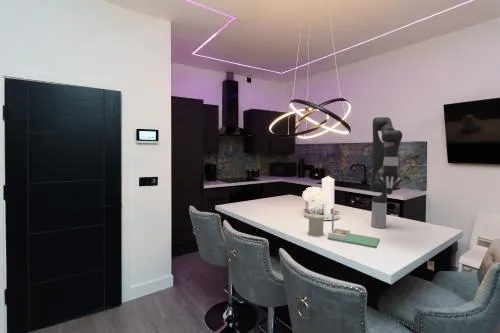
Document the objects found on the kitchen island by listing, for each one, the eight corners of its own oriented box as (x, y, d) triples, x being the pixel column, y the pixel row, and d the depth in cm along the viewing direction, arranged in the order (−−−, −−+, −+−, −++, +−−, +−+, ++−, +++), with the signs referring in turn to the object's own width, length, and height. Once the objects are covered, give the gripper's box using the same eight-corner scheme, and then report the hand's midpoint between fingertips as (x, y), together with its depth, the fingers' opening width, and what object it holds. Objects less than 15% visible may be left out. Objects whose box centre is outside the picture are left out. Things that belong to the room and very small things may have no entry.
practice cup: (334, 231, 169) (334, 205, 168) (349, 234, 164) (350, 207, 163) (328, 236, 158) (329, 209, 157) (344, 239, 153) (345, 211, 152)
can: (305, 232, 169) (305, 214, 169) (317, 231, 172) (318, 213, 172) (313, 237, 161) (314, 217, 160) (326, 235, 164) (327, 216, 163)
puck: (337, 233, 165) (337, 228, 165) (346, 235, 161) (346, 230, 161) (333, 235, 160) (333, 230, 160) (343, 237, 157) (343, 232, 156)
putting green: (334, 232, 170) (334, 230, 170) (379, 239, 156) (379, 238, 156) (327, 239, 157) (327, 237, 157) (375, 248, 143) (375, 246, 143)
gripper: (404, 165, 154) (402, 194, 155) (378, 164, 161) (377, 192, 162) (403, 165, 148) (402, 196, 149) (377, 164, 155) (376, 194, 156)
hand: (389, 194), depth 155 cm, fingers closed
